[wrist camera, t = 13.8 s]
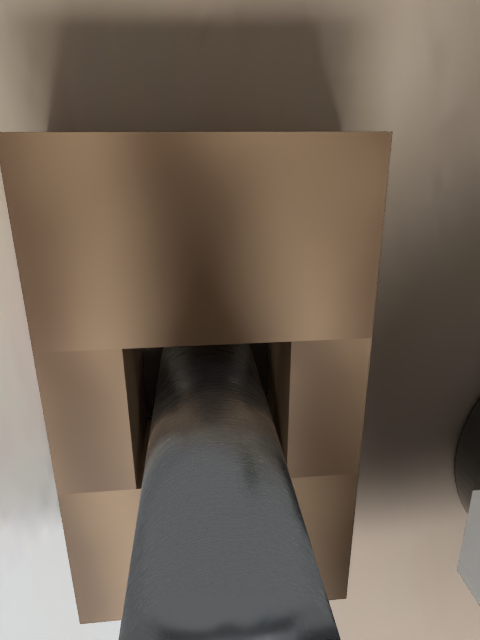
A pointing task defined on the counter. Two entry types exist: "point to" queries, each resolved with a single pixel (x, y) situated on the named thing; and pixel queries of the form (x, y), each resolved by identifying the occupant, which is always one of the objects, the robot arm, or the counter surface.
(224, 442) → the peg
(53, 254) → the socket block
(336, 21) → the counter surface
